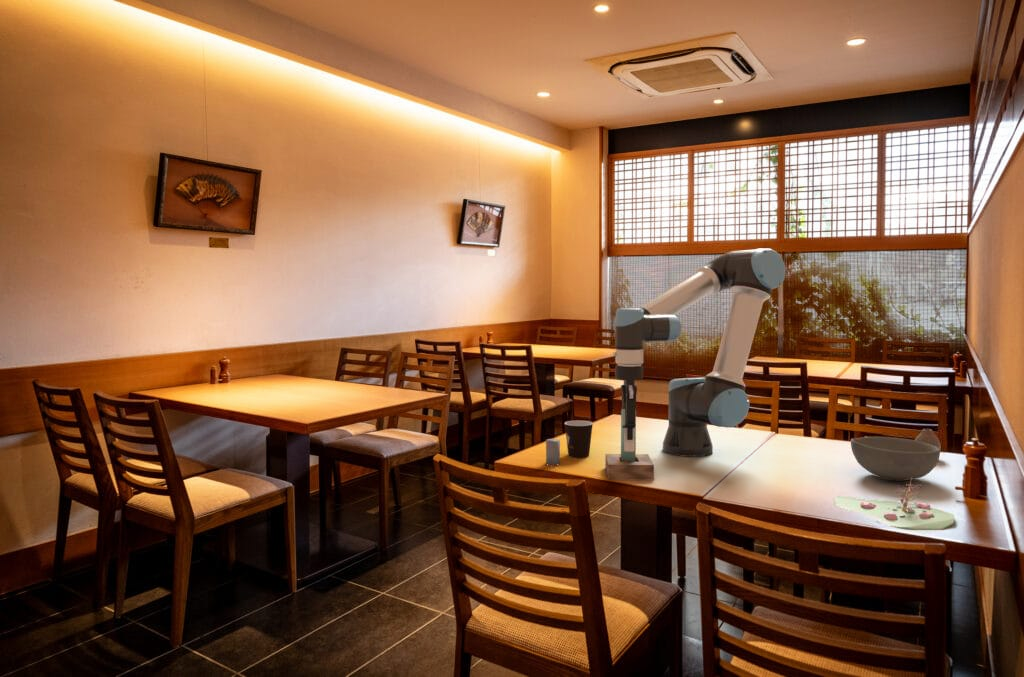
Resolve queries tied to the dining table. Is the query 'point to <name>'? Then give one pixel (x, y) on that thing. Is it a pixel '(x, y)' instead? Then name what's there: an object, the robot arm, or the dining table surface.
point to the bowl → (895, 457)
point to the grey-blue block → (552, 451)
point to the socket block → (629, 467)
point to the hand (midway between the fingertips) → (628, 448)
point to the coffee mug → (578, 438)
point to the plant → (900, 512)
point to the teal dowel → (625, 455)
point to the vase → (928, 438)
